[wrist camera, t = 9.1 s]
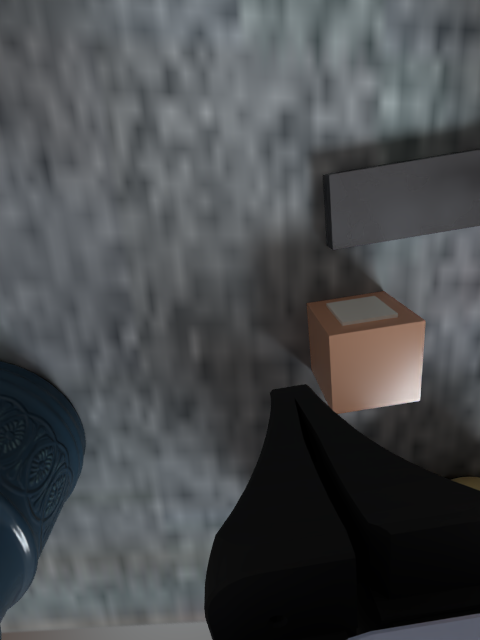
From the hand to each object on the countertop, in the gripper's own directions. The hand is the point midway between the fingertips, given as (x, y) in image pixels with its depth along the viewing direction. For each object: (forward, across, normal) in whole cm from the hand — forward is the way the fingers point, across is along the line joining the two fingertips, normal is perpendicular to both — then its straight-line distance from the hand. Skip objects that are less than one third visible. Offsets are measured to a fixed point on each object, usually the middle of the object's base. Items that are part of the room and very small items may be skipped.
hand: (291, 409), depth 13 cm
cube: (+10, -6, +3) cm, 12 cm away
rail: (+10, -17, -5) cm, 20 cm away
